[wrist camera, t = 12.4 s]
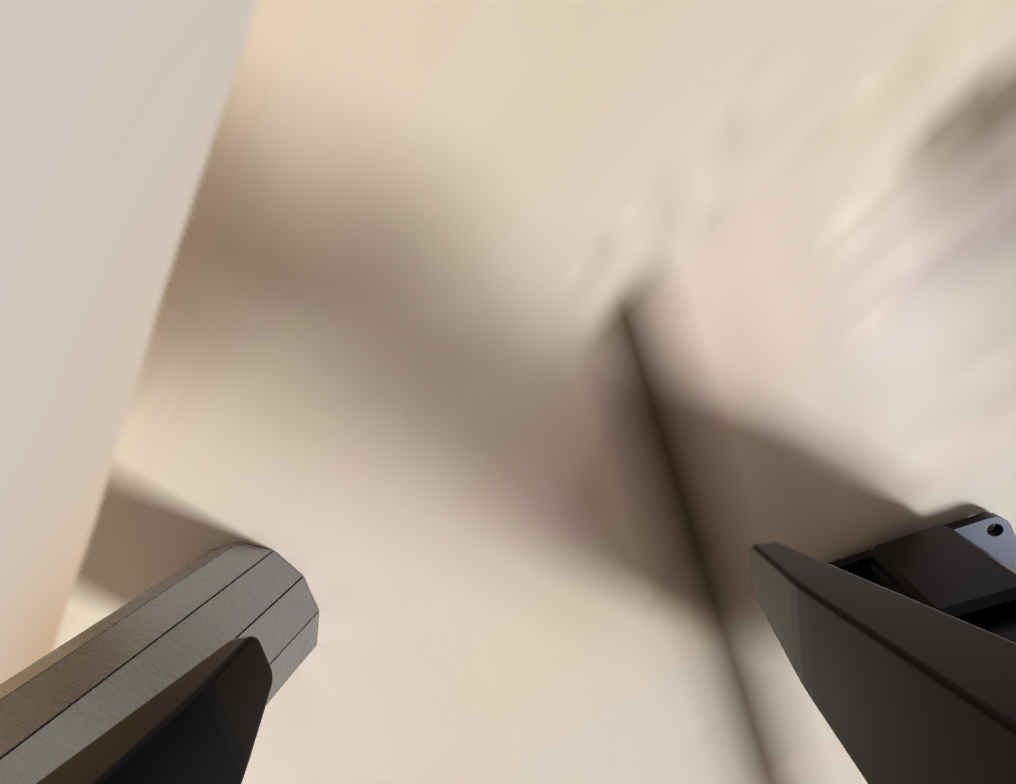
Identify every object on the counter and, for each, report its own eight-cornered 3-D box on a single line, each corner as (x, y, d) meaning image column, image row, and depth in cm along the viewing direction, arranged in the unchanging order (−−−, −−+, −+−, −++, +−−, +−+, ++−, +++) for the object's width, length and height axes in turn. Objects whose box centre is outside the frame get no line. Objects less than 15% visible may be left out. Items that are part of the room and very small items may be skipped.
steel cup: (344, 611, 25) (72, 936, 12) (272, 697, 26) (-27, 1055, 14) (233, 515, 25) (-148, 737, 12) (169, 608, 27) (-214, 881, 14)
